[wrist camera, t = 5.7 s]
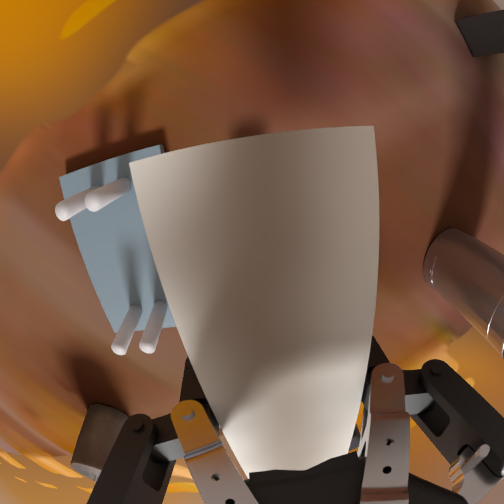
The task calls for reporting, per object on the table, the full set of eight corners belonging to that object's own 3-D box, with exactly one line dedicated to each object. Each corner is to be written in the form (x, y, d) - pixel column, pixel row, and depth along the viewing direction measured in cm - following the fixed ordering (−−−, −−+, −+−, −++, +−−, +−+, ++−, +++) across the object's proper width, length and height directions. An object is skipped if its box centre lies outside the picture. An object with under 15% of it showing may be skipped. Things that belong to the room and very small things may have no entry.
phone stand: (472, 57, 22) (533, 51, 10) (453, 20, 19) (511, 5, 8) (496, 51, 20) (549, 48, 9) (480, 18, 18) (531, 8, 7)
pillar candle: (79, 406, 40) (58, 467, 26) (109, 399, 39) (89, 470, 25) (112, 432, 44) (99, 490, 30) (144, 427, 43) (134, 493, 29)
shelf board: (330, 128, 8) (373, 125, 5) (331, 436, 15) (342, 471, 12) (161, 154, 8) (128, 162, 5) (250, 451, 15) (253, 487, 12)
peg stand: (162, 144, 25) (135, 147, 17) (204, 315, 33) (199, 365, 25) (65, 175, 25) (19, 191, 17) (118, 325, 33) (97, 370, 25)
